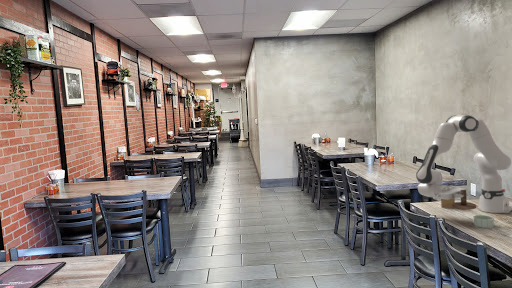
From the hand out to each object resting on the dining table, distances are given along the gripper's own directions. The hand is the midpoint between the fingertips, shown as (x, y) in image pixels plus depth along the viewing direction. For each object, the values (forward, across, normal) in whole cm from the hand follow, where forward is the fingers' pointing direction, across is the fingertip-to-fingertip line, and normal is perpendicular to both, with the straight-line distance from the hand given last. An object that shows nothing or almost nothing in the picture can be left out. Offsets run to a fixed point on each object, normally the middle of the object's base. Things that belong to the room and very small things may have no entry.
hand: (465, 195), depth 214 cm
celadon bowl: (+9, +2, +17) cm, 19 cm away
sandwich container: (-29, +30, +17) cm, 45 cm away
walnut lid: (-1, 0, +7) cm, 7 cm away
